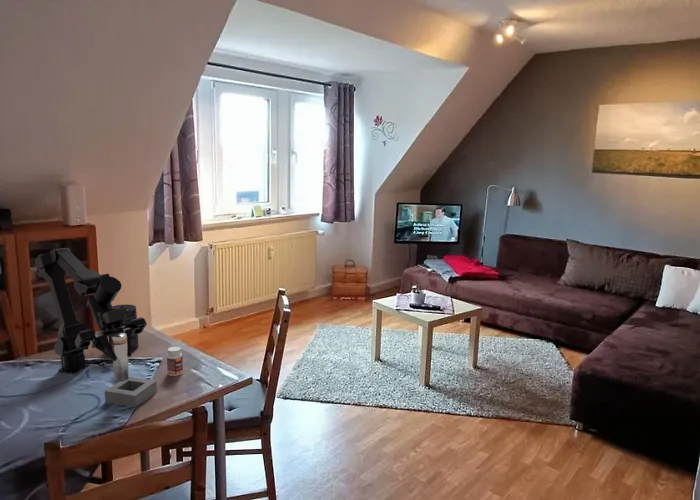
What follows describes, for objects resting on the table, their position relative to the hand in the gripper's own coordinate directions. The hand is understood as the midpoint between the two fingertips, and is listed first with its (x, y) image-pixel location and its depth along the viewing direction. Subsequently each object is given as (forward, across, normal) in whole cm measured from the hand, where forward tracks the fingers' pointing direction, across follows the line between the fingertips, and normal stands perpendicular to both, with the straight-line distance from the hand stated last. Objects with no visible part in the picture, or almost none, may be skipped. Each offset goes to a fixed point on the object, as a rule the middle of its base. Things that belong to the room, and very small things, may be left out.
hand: (122, 358), depth 150 cm
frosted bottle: (+4, 0, +6) cm, 7 cm away
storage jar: (-18, +18, +38) cm, 45 cm away
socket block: (+8, +3, +11) cm, 14 cm away
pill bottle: (+4, +20, +15) cm, 25 cm away
